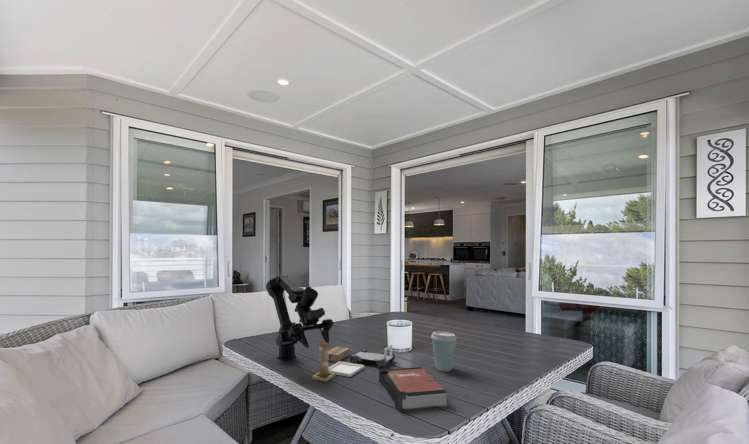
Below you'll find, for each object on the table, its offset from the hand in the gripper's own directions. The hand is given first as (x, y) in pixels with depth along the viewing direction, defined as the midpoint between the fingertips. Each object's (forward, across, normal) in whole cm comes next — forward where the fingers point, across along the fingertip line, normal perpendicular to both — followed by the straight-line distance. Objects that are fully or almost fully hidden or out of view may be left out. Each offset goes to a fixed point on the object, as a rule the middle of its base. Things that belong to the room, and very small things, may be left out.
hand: (318, 345), depth 147 cm
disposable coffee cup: (+27, +45, -10) cm, 54 cm away
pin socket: (+11, 0, +5) cm, 12 cm away
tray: (+10, +11, +7) cm, 16 cm away
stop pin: (+11, 0, +5) cm, 12 cm away
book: (+34, +17, -17) cm, 42 cm away
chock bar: (-2, +18, +19) cm, 26 cm away
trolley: (+9, +26, +7) cm, 29 cm away
